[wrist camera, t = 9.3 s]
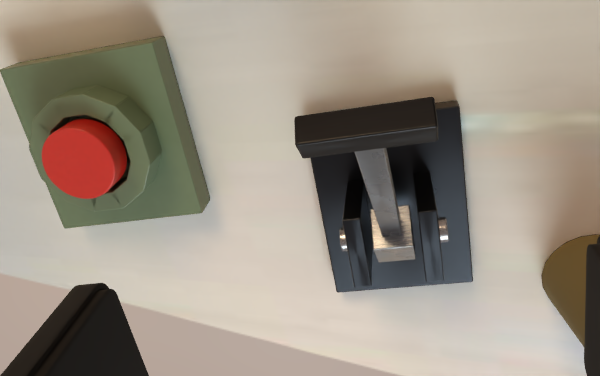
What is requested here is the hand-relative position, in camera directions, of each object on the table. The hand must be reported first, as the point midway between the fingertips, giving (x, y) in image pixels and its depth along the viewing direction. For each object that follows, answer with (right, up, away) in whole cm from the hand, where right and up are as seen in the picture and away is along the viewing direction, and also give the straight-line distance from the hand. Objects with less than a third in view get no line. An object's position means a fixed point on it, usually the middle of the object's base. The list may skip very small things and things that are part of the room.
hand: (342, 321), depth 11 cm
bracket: (+5, +2, +25) cm, 25 cm away
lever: (+3, +3, +16) cm, 16 cm away
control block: (-13, +6, +25) cm, 29 cm away
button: (-13, +5, +22) cm, 26 cm away
